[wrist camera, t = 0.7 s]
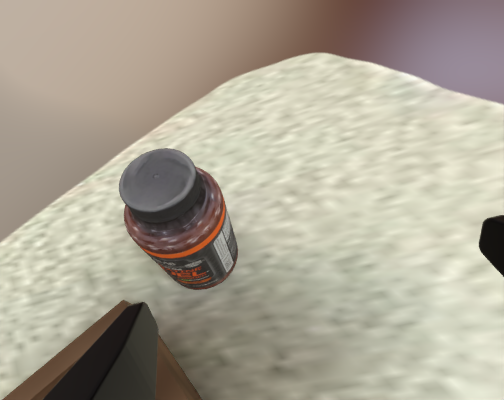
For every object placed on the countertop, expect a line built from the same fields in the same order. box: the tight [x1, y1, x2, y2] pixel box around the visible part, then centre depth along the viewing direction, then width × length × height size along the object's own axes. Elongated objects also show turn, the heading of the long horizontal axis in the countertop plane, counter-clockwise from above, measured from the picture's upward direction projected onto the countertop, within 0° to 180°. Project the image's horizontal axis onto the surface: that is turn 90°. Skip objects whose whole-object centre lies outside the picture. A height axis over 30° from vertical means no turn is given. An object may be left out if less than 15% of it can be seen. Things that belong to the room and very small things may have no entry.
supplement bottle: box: [119, 148, 238, 289], centre depth 19 cm, size 6×6×11 cm
